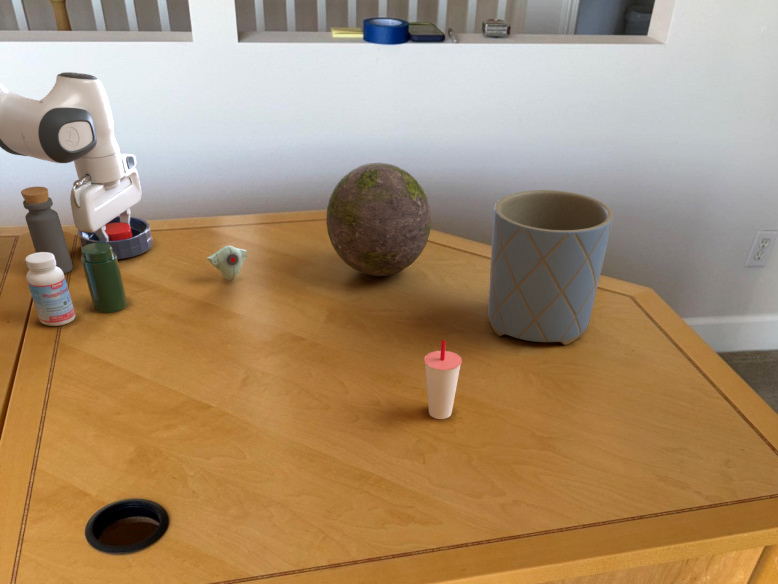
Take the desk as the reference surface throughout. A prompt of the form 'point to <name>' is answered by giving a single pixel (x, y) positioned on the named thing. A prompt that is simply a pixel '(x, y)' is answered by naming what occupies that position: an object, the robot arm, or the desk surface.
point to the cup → (441, 381)
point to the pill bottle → (49, 290)
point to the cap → (118, 231)
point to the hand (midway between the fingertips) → (116, 238)
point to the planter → (546, 264)
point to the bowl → (125, 247)
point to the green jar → (103, 278)
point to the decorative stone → (378, 219)
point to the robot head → (228, 261)
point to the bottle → (45, 226)
